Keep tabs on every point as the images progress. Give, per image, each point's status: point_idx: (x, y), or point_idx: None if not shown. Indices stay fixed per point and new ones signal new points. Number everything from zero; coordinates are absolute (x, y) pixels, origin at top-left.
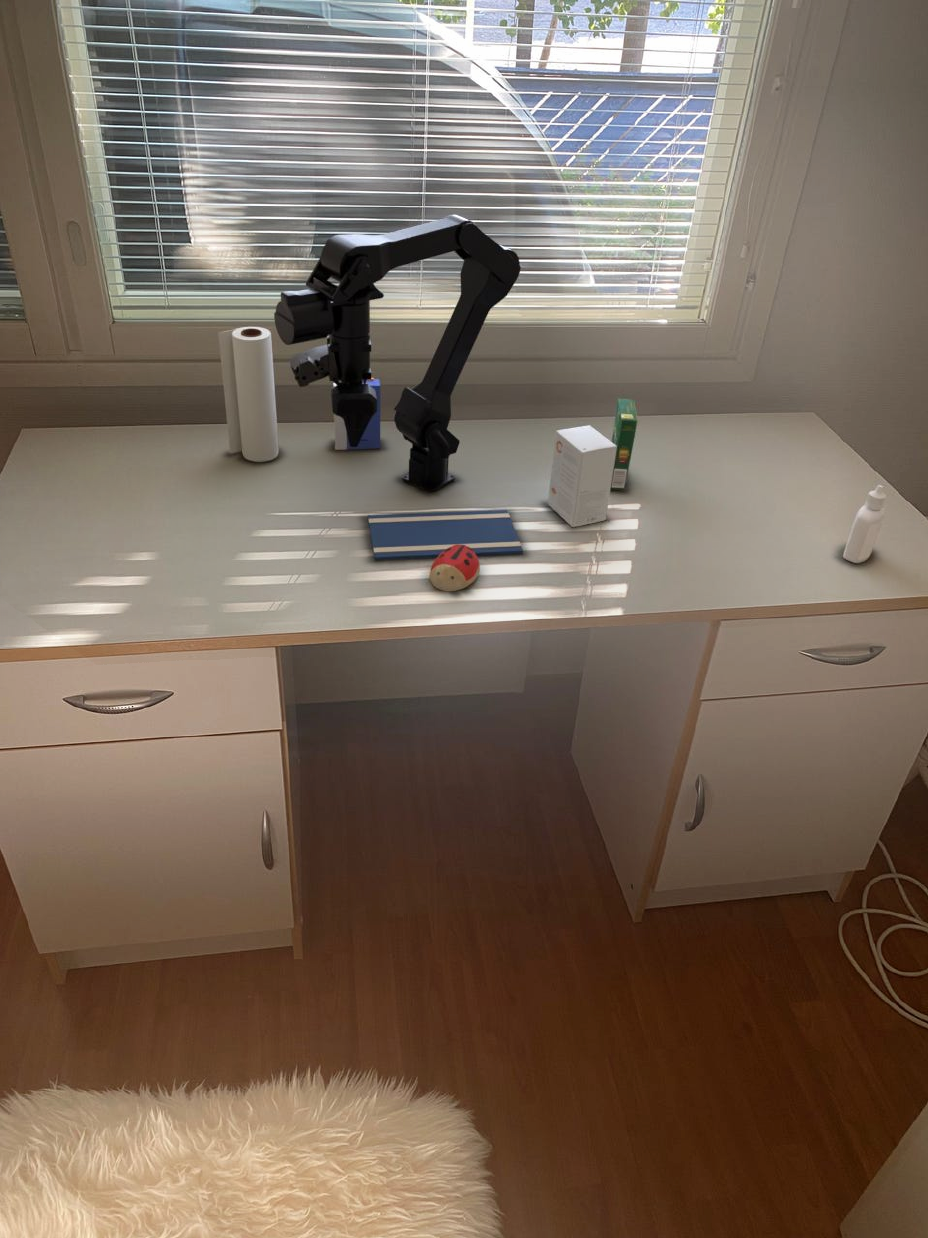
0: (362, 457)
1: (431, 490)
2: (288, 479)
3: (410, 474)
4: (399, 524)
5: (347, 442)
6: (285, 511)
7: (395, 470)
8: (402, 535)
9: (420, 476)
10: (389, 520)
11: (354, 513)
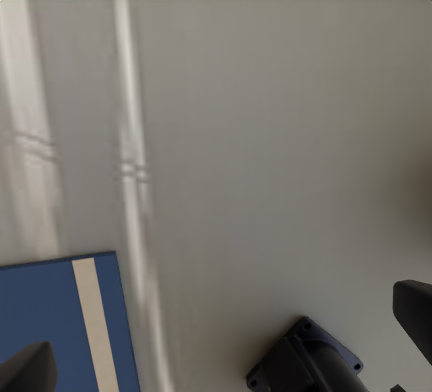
0: (418, 219)
1: (246, 383)
2: (318, 28)
3: (286, 355)
4: (74, 330)
5: None
6: (138, 27)
7: (350, 297)
8: (19, 341)
9: (266, 383)
10: (88, 308)
11: (140, 217)
